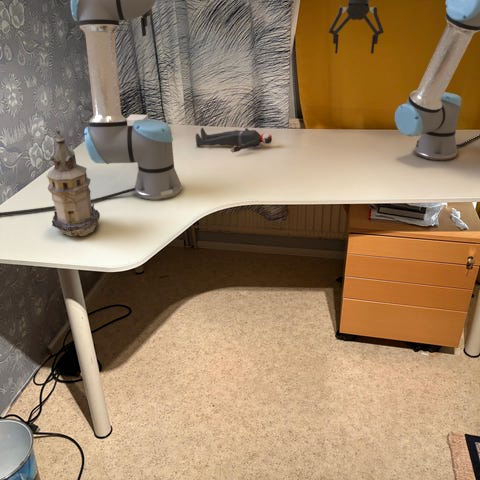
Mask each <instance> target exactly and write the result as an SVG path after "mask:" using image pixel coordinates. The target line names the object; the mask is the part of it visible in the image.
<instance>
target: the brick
mask: <svg viewBox="0 0 480 480" xmlns="http://www.w3.org/2000/svg"><path fill="white" fill-rule="evenodd" d="M125 118H126V119H127V125H128V126H133V123H134V122H135V121H136V120H142V119H149V114H133V113H130V114H129V116H127V117H125Z"/></svg>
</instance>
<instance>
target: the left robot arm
mask: <svg viewBox="0 0 480 480" xmlns="http://www.w3.org/2000/svg"><path fill="white" fill-rule="evenodd" d="M156 2H157V0H70V10H71V16H72V19H73V21H74V22H77V23H78V25H79V26H78V27H79V29H81V31H83V33H84V34H85V43H86V53H87V63H88V64H87V65H88V75H89V81H90V82H89V85H90V93H91V102H92V103H91V105H92V112H93V113H92V114H93V116H92V117H91V118H90V119H89V120H88V124H89V125H88V126H86V127H85V128H84V130H83V131H84V132H83V133H84V143H85V148H86V151H87V154H88V156H89V158H90V160H91V161H92V162H93V163H95V164H105V165H109V164H134V163H136V164H137V175H136V179H135V184H134V187H132V188H129V189H125V190H121V191H117V192H114V193H111V194H108V195H107V194H106V195H104V196H101V197H96V198H92V199H91V204H92V203H95V202H100V201H103V200H107V199H110V198H115V197H118V196H121V195H124V194H128V193H132V192H134V193H135V195H136V196H137V197H138V198H141V199H143V200H148V201H161V200H168V199H171V198H174V197H176V196H178V195H179V194H180V193H181V192H182V182H181V180H180V177H179V176H178V173H177V171H176V169H175V161H174V160H175V159H174V158H175V157H174V147H173V140H174V139H173V135H172V129H171V126H170V125H169V124H168V123H167V122H165V121H162V120H159V119H153V118H148V119H142V120H136V121H135V122H134V123H133V126H128V125H127V119H126V118H127V117H125V116H123V114H122V103H121V91H120V80H119V79H120V78H119V68H118V67H119V65H118V55H117V43H116V32H117V31H118V29H119V28H120V21H132V20H136V19H138V18H140V27H141V36H142V37H145V36H147V28H146V27H148V23H149V21H148V17H149V16H151V15H152V11H151V9H152V8H153V6H154V5H155V4H156ZM51 210H56V209H55V205H52V206H45V207H36V208H27V209H21V210H12V211H1V212H0V216H8V215H9V216H10V215H19V214H27V213H28V214H29V213H35V212H44V211H51Z"/></svg>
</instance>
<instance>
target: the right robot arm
mask: <svg viewBox="0 0 480 480" xmlns="http://www.w3.org/2000/svg"><path fill="white" fill-rule="evenodd" d="M369 4H370V0H347V6H345V7H344V6H339V7H338V12H337V14H336V16H335V18H334V20H333V22H332V23H331V26H330V27H329V29H328V33H329V34H332V44H333V45H335V47H334V49H335V50H334V54H338V49H339V48H338V47H339V46H338V45H339V35H340V34H339V32H340V31H341V30H342V29H343V27H344V26H345V25H346V24H347V23H348V22H349V21H351V20H352V21H356V20H358V21H362V20H364V21H365V22H366V23H367V25H368V26H369V28H370V29H371V31H372V32H373V33H374V34H372V38H371V47H370V54H372V55H373V54H374V51H375V45H377V44H378V41H379V36H380V35H382V34H384V32H385V31H384V29H383V28H384V27H383V26H382V23H381V21H380V18H379V14H378V8H377V6H376V5H375V6H371V7H370V6H369ZM444 5H445V6H446V8H445V11H446V14H445V21H446V26H445V28H444V30H443V32H442V35H441V37H440V39H439V41H438V43H437V46H436V48H435V50H434V52H433V54H432V57H431V59H430V61H429V63H428V65H427V68H426V69H425V72H424V74H423V76H422V78H421V80H420V82H419V84H418V86H417V88H416V90H413V91H411V92H410V94H409V96H408V98H407V100H406V102H405V103H403V104H401V105H399V106H398V107H397V108H396V110H395V113H394V123H395V126H396V128H397V131H399V132H400V133H401V134H402V135H404V136H406V137H411V138H412V137H418V136H420V137H419V139H418V140H417V141H416V143H415V144H416V145H415V146H414V151H413V152H414V154H415V155H416V156H417V157H419V158H422V159H426V160H428V161H429V160H430V161H441V162H442V161H450V160H453V159H456V158H457V156H458V155H457V153H458V148H459V147H464V146H465V145H467V144H468V143H470V142H473V141H474V140H476V139H478V138H480V134H478V135H479V136H477V135H476V136H477V137H475V136H474V137H475V138H473V137H472V138H473V139H471V138H470V139H471V140H470V139H468V140H469V141H468V140H466V141H467V142H466V141H464V142H461V143H459V144H457V141H456V132H457V126H458V121H459V118H460V117H459V116H460V111H461V108H462V97H461V96H460V95H458V94H455V93H451V92H448V91H447V92H446V89H447V88H448V86H449V84H450V82H451V80H452V78H453V76H454V74H455V72H456V70H457V68H458V66H459V64H460V62H461V60H462V58H463V56H464V54H465V52H466V50H467V48H468V46H469V44H470V42H471V41H472V38H473V36H474V34H475V33H478V32H480V0H445V4H444ZM345 12H346V13H347V16H346V17H345V18H344V19H343V20H342V22H340V23H339V25H338V26H337V27H336V25H337V24H338V22H339V21H340V18H341V16H342V14H344V13H345ZM369 12H370V13H371V14H372V15H373V17H374V19H375V22H376V25H377V28H378V29H376V27H375V25H374V24H373V23H372V21H371V20H370V19H369V17H368V13H369Z"/></svg>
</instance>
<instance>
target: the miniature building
mask: <svg viewBox="0 0 480 480" xmlns="http://www.w3.org/2000/svg"><path fill="white" fill-rule="evenodd" d="M56 134H57V136H56V138H55V140H54V141H55V142H56V147H55V154H54V156H52V157H51V161H52V162H53V165H54V167H53V168H51V169H50V170H49V171H48V173H47V174H46V178H47V179H48V182H49V184H48V186H47V190H48V191H49V193H50V194H51V200H52V201H53V206H55V209H54V210H55V211H53V217H52V220H51V223H52V225H51V227H54V228H56V229H58V230H59V231H60V234H63V235H64V234H65V235H66V236H69V237H77V236H80V237H83V236H87V235H88V234H90V233H93V232H94V231H95V229H96V226H97V225H98V223H99V220H100V216H101V213H100V212H99V210H98V209H96V208H95V204H92V203H91V198H92V197H91V192H92V191H91V188H90V184H91V178H89V177H88V174H87V167H85V166H84V165H83V166H82V165H80V164H77V160H76V154H75V151H74V150H70V149H69V147H68V145H67V143H66V138H65V137H64V136H63V135H61V130H60V129H56Z"/></svg>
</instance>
